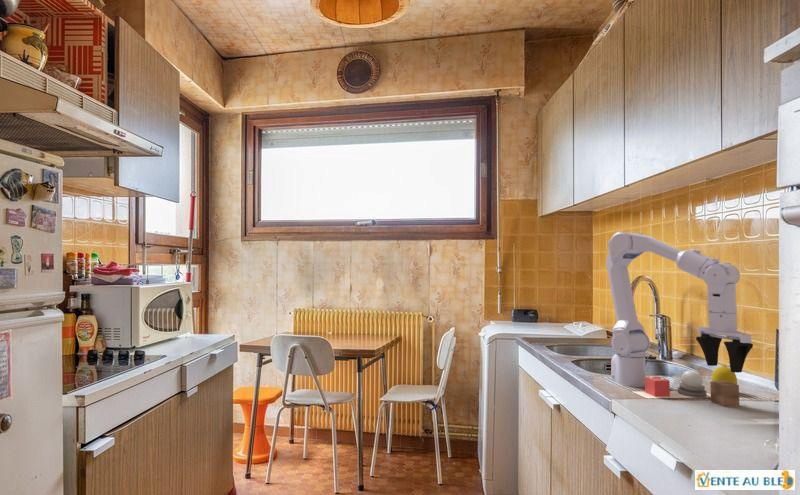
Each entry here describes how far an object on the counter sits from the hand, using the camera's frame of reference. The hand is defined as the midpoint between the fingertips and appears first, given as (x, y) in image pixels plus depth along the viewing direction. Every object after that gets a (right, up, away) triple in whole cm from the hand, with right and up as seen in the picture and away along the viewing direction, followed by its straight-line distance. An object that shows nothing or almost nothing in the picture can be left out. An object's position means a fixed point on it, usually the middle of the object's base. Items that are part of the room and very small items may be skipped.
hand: (723, 368), depth 112 cm
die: (-12, -9, +8) cm, 17 cm away
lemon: (+8, -10, +11) cm, 17 cm away
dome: (-2, -8, +9) cm, 12 cm away
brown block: (0, -9, -1) cm, 10 cm away
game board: (-7, -10, +3) cm, 12 cm away
